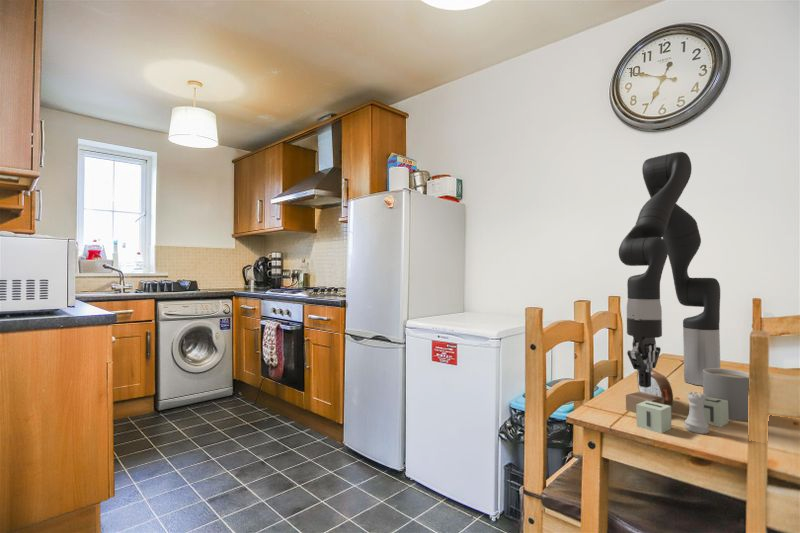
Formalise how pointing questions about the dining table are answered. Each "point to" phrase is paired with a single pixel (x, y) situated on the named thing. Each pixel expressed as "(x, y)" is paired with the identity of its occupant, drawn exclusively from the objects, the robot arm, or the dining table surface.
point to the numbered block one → (653, 416)
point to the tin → (658, 387)
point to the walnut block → (640, 400)
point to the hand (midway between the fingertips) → (644, 386)
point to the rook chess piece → (696, 414)
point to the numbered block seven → (715, 411)
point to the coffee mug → (728, 390)
